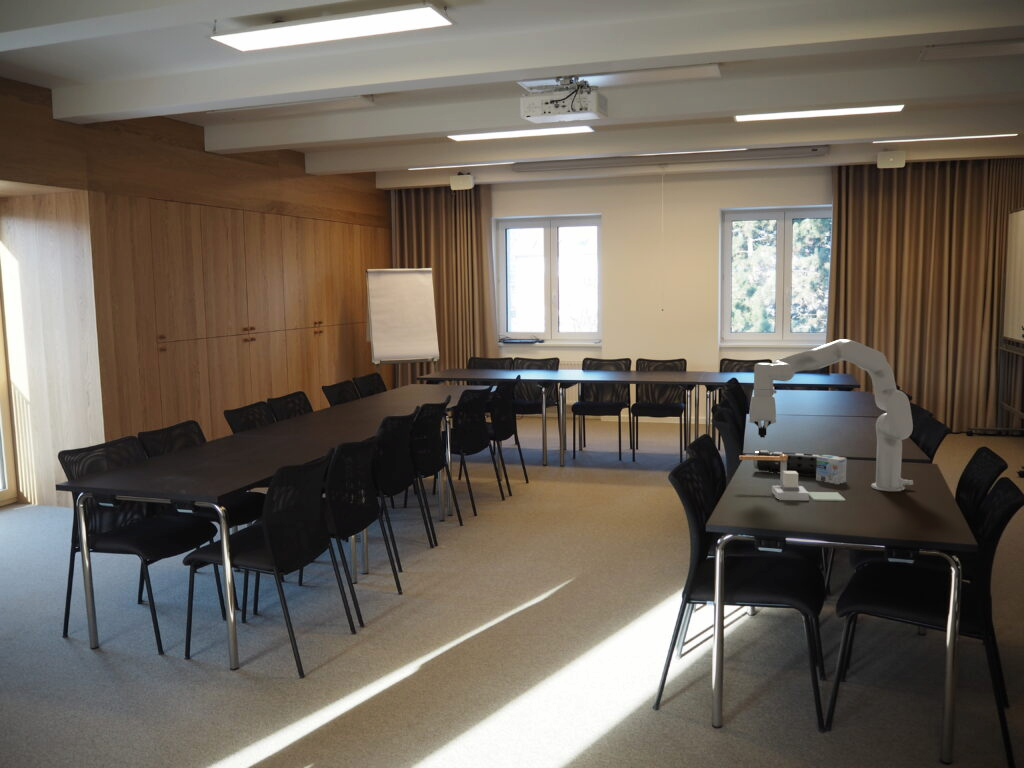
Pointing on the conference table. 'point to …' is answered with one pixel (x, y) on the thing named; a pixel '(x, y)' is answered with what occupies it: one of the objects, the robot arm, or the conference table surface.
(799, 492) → the socket block
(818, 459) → the light bulb box
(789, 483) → the plug
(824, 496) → the mat
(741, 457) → the wooden bar
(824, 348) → the robot arm
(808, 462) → the muzzle brake
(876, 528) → the conference table surface
